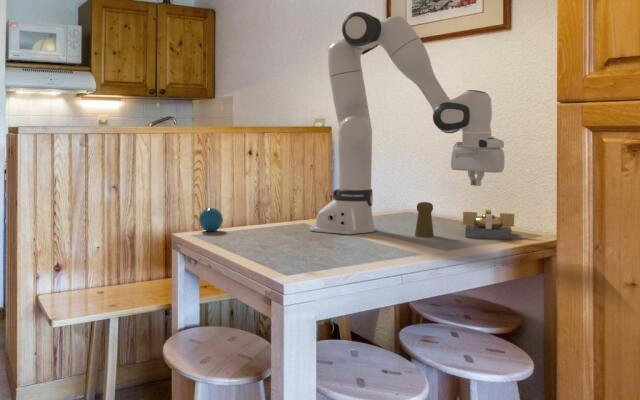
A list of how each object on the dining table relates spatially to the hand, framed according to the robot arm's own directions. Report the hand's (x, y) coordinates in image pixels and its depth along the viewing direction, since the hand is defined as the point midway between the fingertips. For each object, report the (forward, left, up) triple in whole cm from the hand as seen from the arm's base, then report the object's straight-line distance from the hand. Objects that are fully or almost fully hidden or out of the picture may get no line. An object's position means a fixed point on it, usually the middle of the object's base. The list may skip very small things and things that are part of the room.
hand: (475, 185), depth 184 cm
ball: (-86, -14, -17) cm, 89 cm away
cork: (-16, -2, -17) cm, 23 cm away
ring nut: (+4, +5, -14) cm, 15 cm away
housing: (+4, +5, -17) cm, 18 cm away
